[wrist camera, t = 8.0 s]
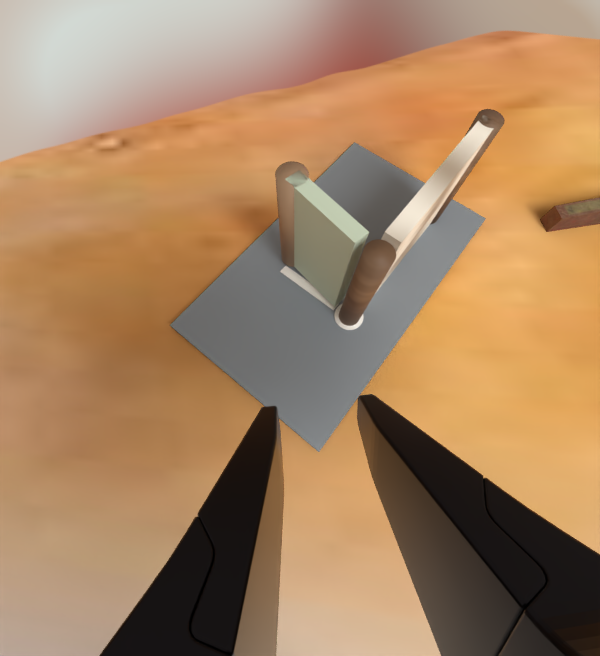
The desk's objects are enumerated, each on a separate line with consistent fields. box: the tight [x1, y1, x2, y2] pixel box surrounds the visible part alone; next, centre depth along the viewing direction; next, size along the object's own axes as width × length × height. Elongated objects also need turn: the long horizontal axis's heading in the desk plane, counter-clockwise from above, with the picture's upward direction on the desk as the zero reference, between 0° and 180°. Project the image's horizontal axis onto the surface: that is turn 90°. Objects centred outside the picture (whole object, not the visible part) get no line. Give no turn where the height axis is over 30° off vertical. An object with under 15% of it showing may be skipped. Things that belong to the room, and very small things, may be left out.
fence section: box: [339, 109, 504, 326], centre depth 20 cm, size 14×2×8 cm, turn 141°
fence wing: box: [275, 162, 369, 307], centre depth 19 cm, size 6×2×8 cm, turn 41°
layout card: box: [170, 143, 485, 452], centre depth 24 cm, size 24×14×1 cm, turn 141°
